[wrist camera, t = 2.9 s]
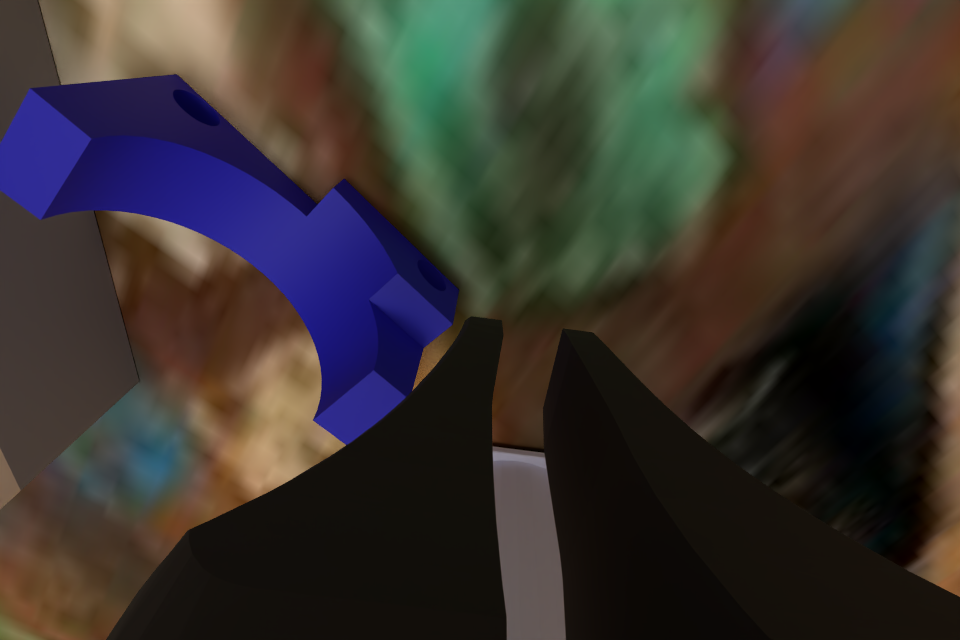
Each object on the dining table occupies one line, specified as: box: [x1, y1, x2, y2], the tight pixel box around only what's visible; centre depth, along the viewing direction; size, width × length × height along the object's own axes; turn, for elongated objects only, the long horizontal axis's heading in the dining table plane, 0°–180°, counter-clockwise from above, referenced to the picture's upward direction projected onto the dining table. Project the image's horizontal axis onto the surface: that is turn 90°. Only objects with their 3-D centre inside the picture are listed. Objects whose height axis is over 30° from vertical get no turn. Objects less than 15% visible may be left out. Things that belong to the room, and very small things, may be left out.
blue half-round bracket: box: [0, 74, 459, 445], centre depth 16 cm, size 12×4×6 cm, turn 43°
